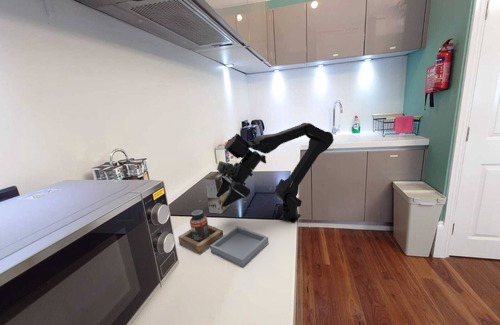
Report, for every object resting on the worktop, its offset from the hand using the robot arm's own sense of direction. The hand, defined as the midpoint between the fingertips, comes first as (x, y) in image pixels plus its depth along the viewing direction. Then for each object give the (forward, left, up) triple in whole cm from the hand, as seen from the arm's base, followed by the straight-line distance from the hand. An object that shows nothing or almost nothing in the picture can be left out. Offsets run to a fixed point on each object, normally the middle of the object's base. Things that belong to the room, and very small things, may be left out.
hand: (219, 201), depth 80 cm
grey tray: (+3, +10, -13) cm, 17 cm away
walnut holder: (+7, -4, -13) cm, 16 cm away
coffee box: (-15, -17, -14) cm, 27 cm away
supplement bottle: (+7, -4, -14) cm, 16 cm away
